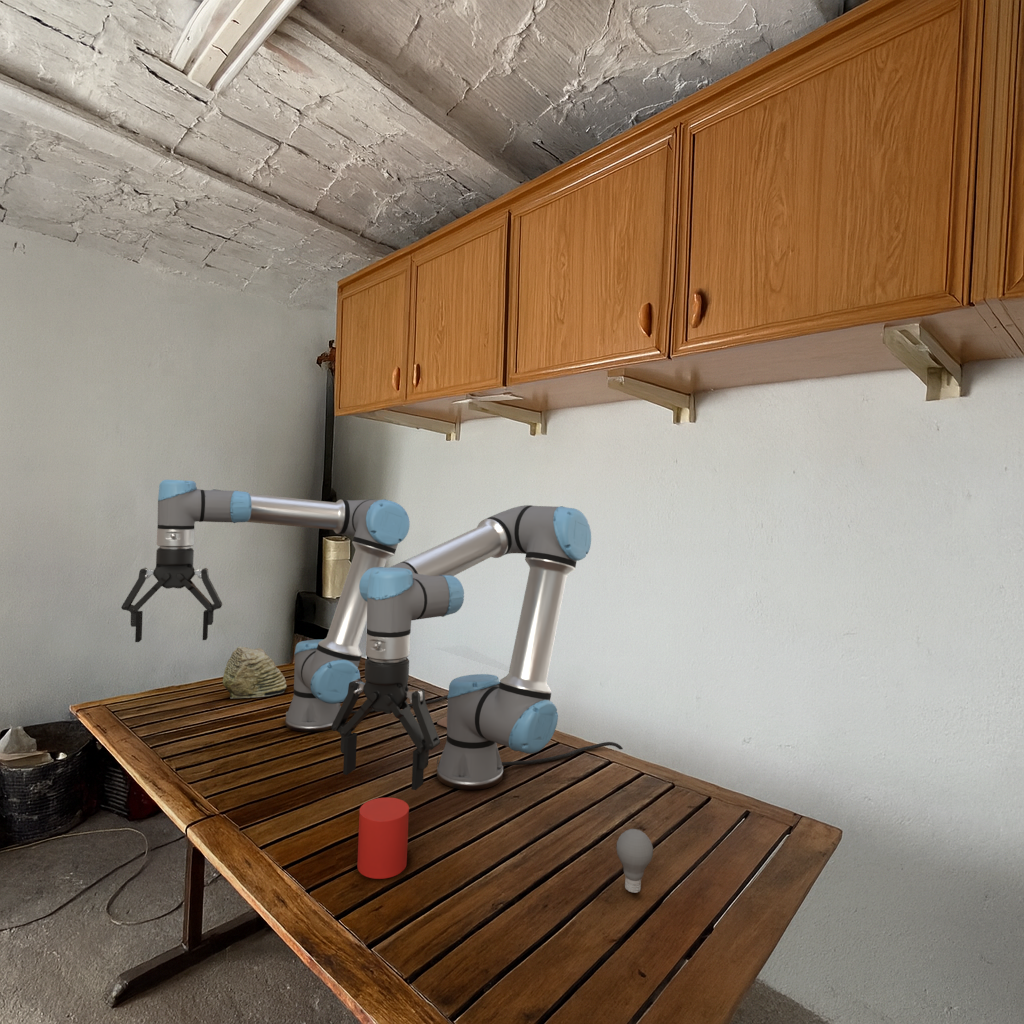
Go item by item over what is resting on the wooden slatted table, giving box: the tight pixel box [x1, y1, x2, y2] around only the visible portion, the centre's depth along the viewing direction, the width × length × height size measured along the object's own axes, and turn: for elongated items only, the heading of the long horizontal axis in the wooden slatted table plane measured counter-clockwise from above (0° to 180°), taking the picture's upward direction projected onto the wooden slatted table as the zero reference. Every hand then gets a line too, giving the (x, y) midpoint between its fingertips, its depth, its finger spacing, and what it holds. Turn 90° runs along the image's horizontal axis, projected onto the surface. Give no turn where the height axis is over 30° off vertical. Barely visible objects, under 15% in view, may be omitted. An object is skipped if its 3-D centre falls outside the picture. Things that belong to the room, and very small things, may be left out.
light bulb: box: [615, 828, 654, 894], centre depth 106 cm, size 6×6×10 cm
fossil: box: [222, 646, 288, 699], centre depth 198 cm, size 9×18×15 cm, turn 132°
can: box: [356, 797, 410, 880], centre depth 110 cm, size 8×8×10 cm
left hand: (172, 640), depth 145 cm, fingers open, 13 cm apart
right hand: (382, 779), depth 110 cm, fingers open, 13 cm apart
